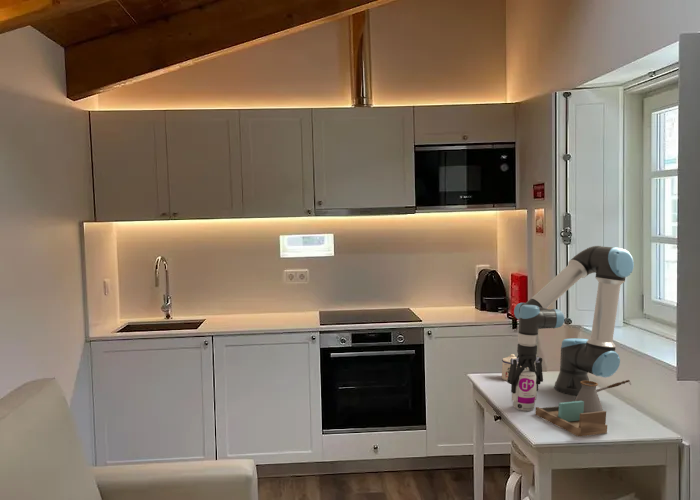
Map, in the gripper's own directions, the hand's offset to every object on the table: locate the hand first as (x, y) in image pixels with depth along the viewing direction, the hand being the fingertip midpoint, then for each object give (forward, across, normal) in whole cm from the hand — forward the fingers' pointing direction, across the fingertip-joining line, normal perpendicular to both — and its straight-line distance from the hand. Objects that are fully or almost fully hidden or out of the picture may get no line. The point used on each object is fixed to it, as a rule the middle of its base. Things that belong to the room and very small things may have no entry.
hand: (524, 400), depth 258 cm
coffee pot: (+3, -24, +16) cm, 29 cm away
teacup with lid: (+4, -22, -37) cm, 43 cm away
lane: (+3, -6, +20) cm, 21 cm away
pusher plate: (+2, -6, +20) cm, 21 cm away
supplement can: (+3, 0, 0) cm, 3 cm away
